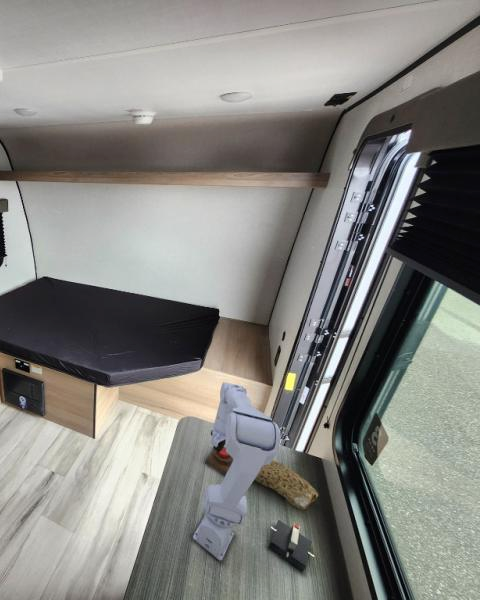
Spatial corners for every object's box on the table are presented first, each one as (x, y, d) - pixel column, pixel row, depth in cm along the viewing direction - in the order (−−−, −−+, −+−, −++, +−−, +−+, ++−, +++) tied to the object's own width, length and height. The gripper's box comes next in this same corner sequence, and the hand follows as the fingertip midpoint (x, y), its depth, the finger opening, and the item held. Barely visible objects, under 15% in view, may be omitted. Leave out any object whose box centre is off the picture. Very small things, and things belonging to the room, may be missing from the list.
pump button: (226, 460, 106) (227, 456, 106) (215, 454, 109) (216, 450, 108) (230, 454, 109) (231, 450, 108) (219, 448, 111) (220, 444, 110)
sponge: (313, 500, 99) (257, 447, 112) (325, 490, 94) (265, 436, 107) (288, 525, 94) (233, 466, 107) (299, 516, 89) (240, 456, 102)
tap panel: (306, 580, 78) (310, 573, 77) (262, 548, 84) (265, 541, 83) (313, 548, 85) (317, 541, 84) (272, 520, 91) (275, 513, 90)
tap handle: (293, 552, 81) (297, 544, 79) (286, 549, 82) (291, 540, 80) (296, 534, 85) (300, 525, 84) (290, 530, 86) (294, 521, 85)
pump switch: (225, 476, 104) (228, 468, 103) (205, 463, 109) (207, 455, 107) (236, 458, 111) (238, 451, 110) (216, 446, 115) (218, 439, 114)
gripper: (231, 437, 89) (221, 470, 94) (247, 412, 99) (237, 443, 104) (207, 424, 94) (199, 456, 99) (225, 401, 103) (217, 432, 109)
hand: (217, 449), depth 102 cm, fingers closed
